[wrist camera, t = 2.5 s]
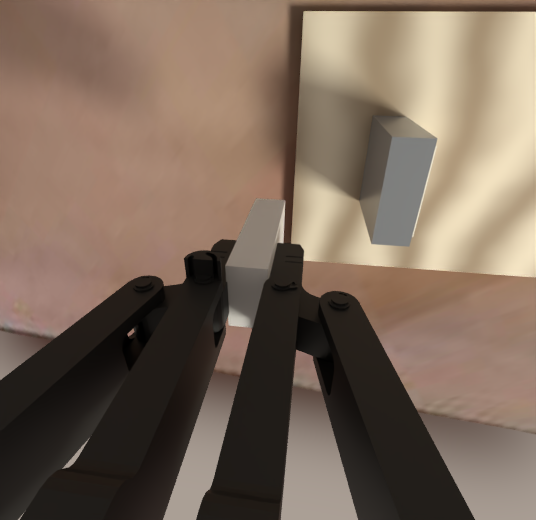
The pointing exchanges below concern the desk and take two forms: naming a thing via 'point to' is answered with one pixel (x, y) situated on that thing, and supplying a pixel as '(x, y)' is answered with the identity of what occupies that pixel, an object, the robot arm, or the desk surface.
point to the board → (432, 120)
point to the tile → (395, 178)
